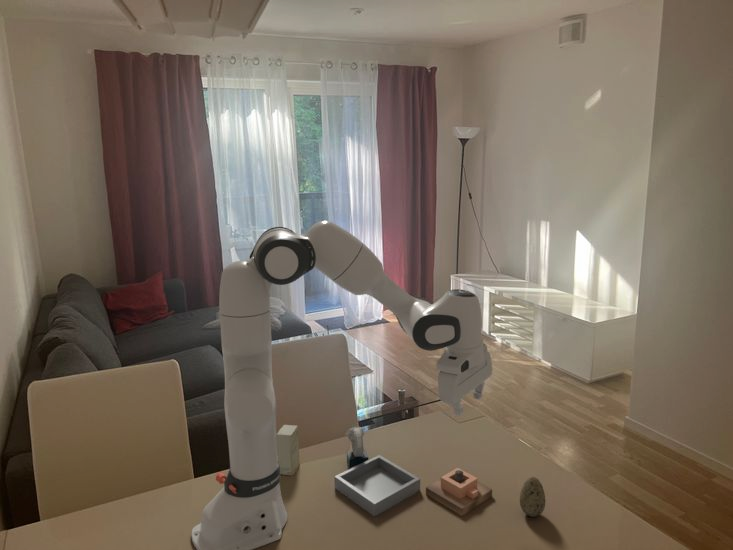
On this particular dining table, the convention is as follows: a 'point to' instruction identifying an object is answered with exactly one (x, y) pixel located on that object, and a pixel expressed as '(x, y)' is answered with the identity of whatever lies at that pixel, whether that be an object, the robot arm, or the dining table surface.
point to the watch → (356, 447)
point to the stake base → (454, 502)
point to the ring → (460, 485)
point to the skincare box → (288, 449)
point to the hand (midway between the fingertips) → (468, 405)
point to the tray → (377, 484)
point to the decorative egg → (532, 497)
